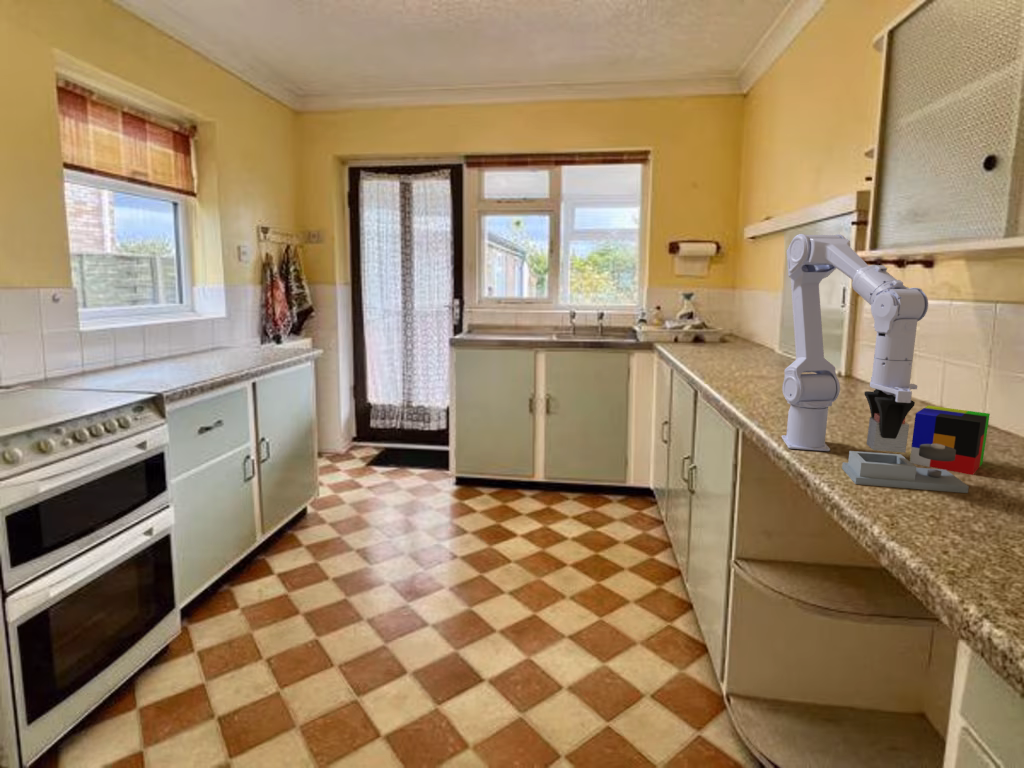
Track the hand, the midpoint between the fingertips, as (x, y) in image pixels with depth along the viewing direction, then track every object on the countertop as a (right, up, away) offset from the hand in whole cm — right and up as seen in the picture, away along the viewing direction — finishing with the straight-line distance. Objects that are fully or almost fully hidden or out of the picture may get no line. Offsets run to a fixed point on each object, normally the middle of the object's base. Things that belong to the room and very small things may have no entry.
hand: (884, 434), depth 108 cm
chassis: (+3, -8, +1) cm, 9 cm away
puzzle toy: (+18, -7, +11) cm, 22 cm away
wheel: (+8, -4, -1) cm, 9 cm away
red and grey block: (0, -2, 0) cm, 3 cm away
